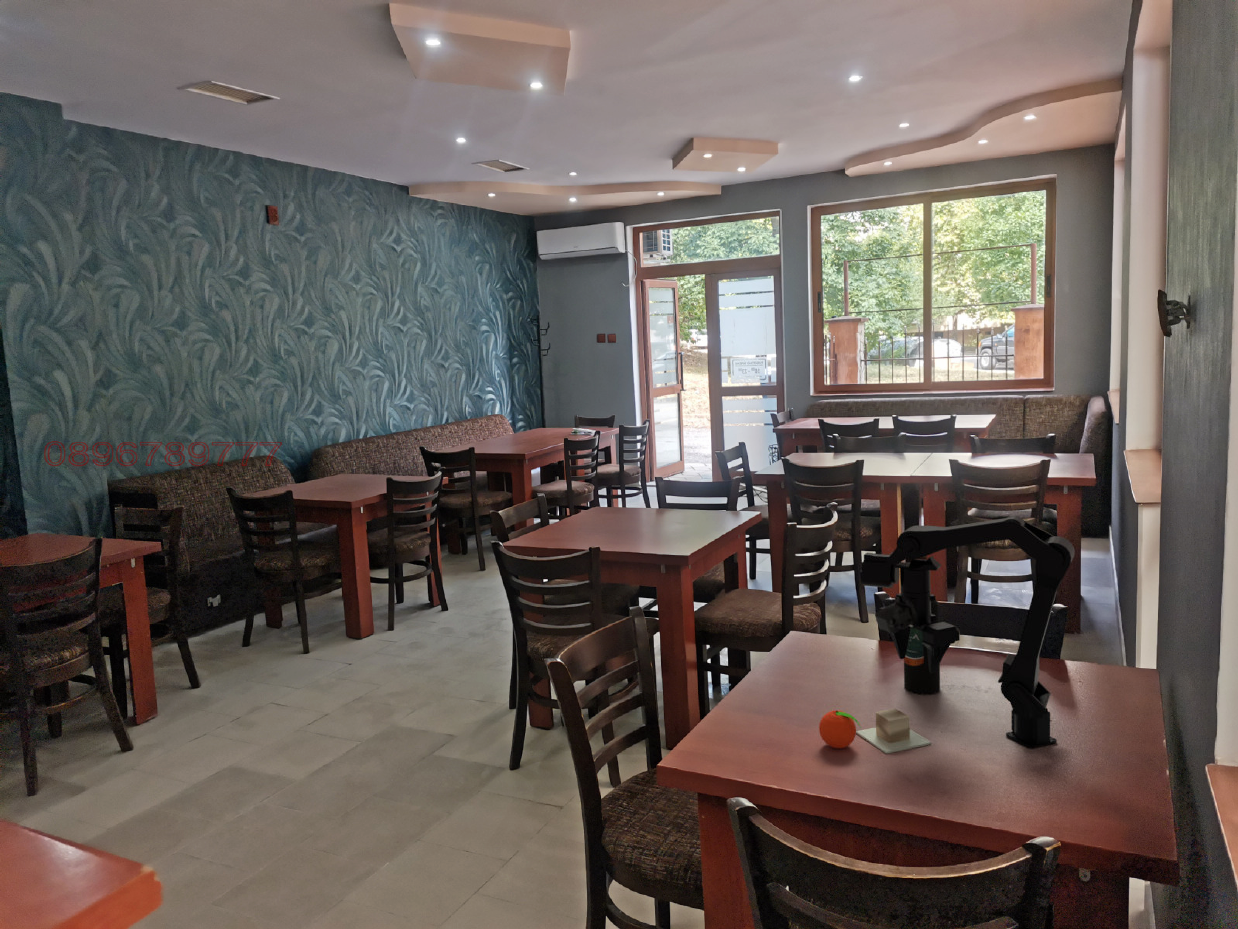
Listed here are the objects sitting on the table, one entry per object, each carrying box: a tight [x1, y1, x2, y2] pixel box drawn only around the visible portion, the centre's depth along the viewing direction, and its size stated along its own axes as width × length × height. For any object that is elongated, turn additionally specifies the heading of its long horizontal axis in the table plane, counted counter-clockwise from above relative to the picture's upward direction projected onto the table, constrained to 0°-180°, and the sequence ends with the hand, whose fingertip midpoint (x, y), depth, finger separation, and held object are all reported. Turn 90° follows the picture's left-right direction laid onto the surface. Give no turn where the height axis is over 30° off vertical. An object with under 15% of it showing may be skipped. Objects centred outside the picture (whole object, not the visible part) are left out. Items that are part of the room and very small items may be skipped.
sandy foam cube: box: [875, 708, 911, 743], centre depth 170 cm, size 4×4×4 cm
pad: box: [856, 726, 932, 754], centre depth 170 cm, size 10×10×1 cm
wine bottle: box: [903, 555, 941, 696], centre depth 193 cm, size 8×8×30 cm
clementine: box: [818, 709, 861, 749], centre depth 168 cm, size 8×7×7 cm
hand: (917, 665), depth 177 cm, fingers open, 9 cm apart
